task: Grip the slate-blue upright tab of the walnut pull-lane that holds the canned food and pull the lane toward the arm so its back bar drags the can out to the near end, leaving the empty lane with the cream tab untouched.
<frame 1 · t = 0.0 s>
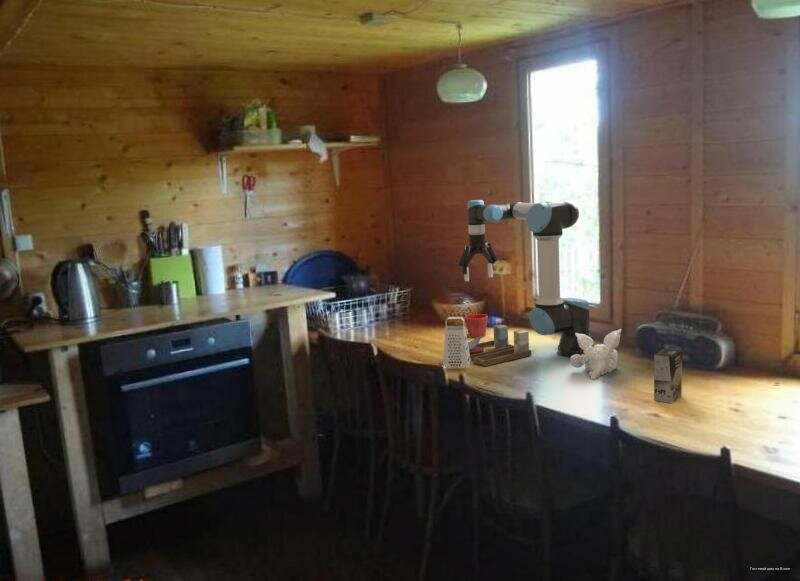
hand: (478, 279, 338), 28 cm above the counter, tool pointing down, fingers open, 13 cm apart
lane B: (502, 347, 303), point 5 cm above the counter, slide at 0.0 cm
coffee box: (667, 398, 244), on the counter
flower pot: (477, 336, 346), on the counter
lane A: (482, 341, 315), point 5 cm above the counter, slide at 0.0 cm, touching grater
white sculpted figure: (596, 372, 278), on the counter
grater: (457, 365, 300), on the counter, touching lane A
canned food: (472, 355, 313), on the counter
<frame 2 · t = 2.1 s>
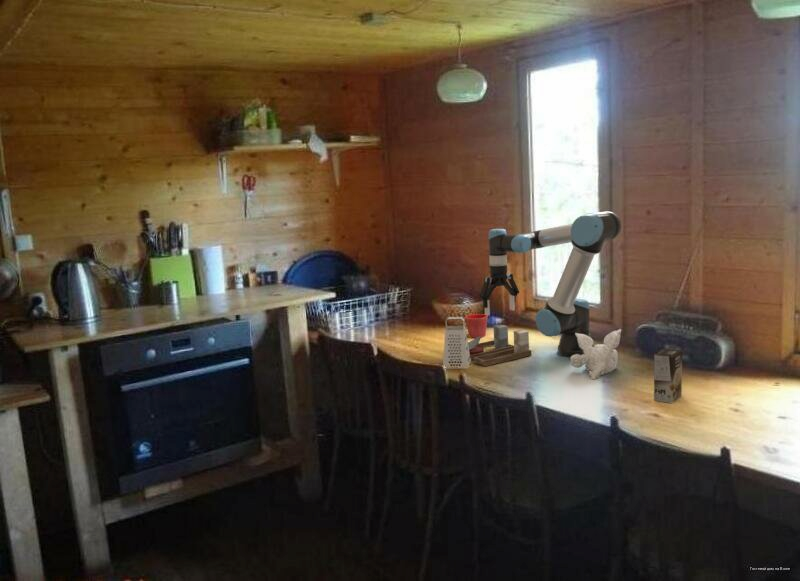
hand: (499, 312, 318), 16 cm above the counter, tool pointing down, fingers open, 13 cm apart
nothing on the counter moved.
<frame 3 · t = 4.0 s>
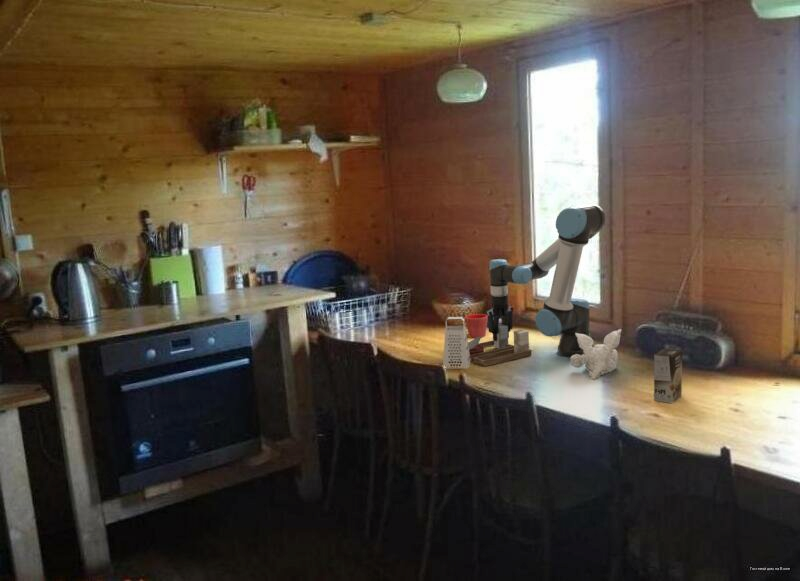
hand: (501, 346, 320), 1 cm above the counter, tool pointing down, fingers closed on lane A, 4 cm apart
lane A: (482, 341, 315), point 5 cm above the counter, slide at 0.0 cm, touching grater, gripper
everything else where it was.
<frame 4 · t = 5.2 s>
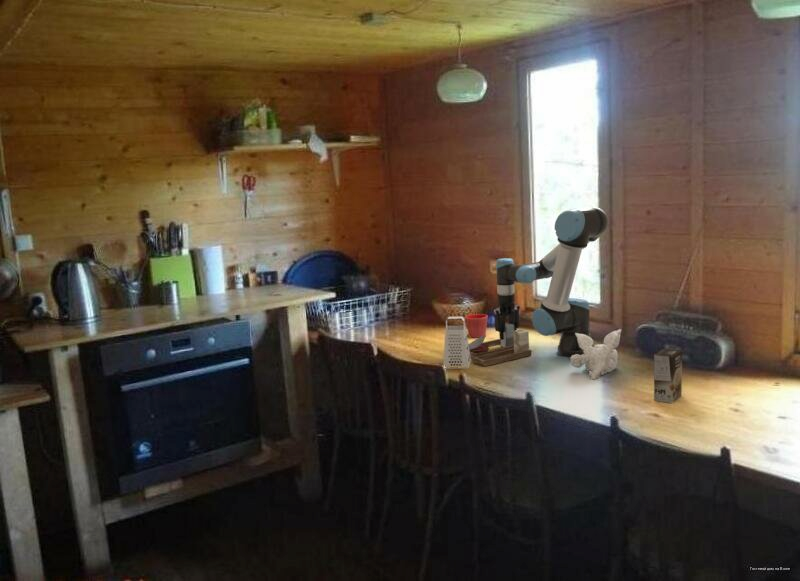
hand: (507, 345, 322), 1 cm above the counter, tool pointing down, fingers closed on lane A, 4 cm apart
lane A: (488, 339, 316), point 5 cm above the counter, slide at 3.5 cm, touching canned food, gripper
grater: (457, 365, 300), on the counter
canned food: (477, 354, 314), on the counter, touching lane A
everything else where it was.
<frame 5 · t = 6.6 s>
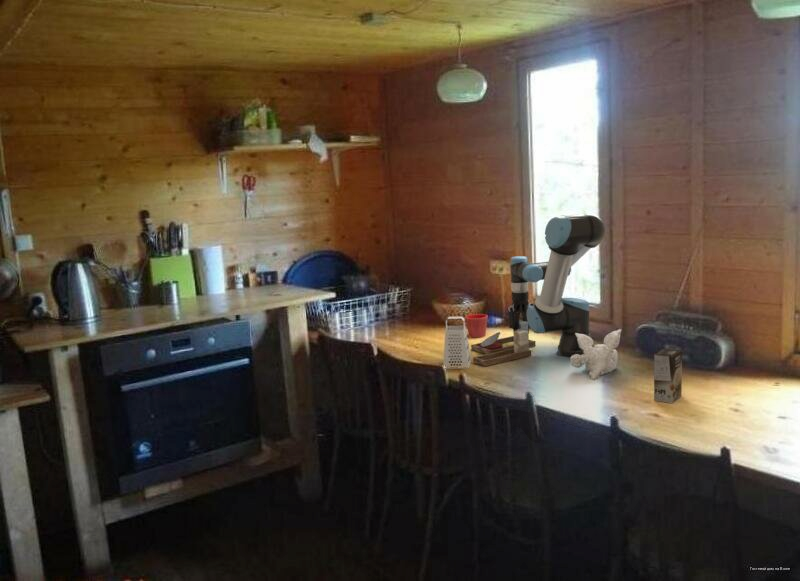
hand: (521, 342, 326), 1 cm above the counter, tool pointing down, fingers closed on lane A, 4 cm apart
lane A: (502, 336, 320), point 5 cm above the counter, slide at 11.4 cm, touching gripper
canned food: (491, 351, 318), on the counter
everything else where it was.
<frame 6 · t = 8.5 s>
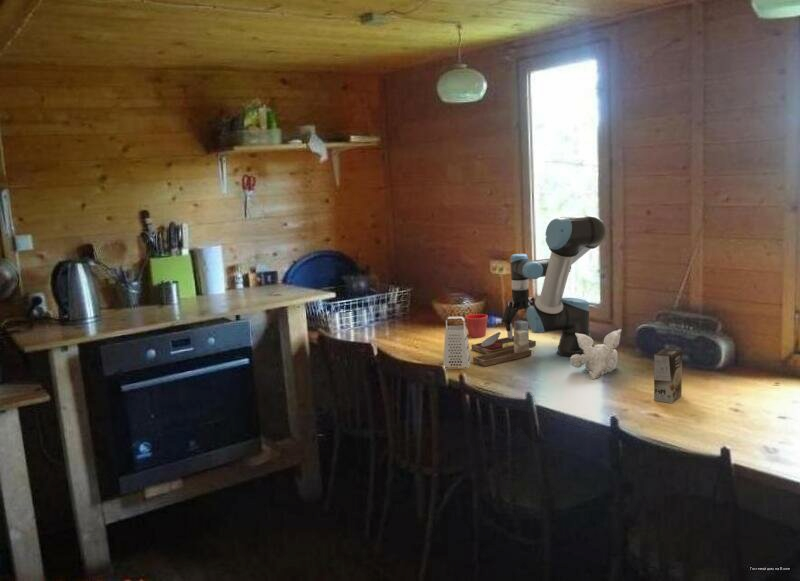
hand: (522, 335, 325), 4 cm above the counter, tool pointing down, fingers open, 13 cm apart
lane A: (503, 336, 320), point 5 cm above the counter, slide at 11.5 cm
everything else where it was.
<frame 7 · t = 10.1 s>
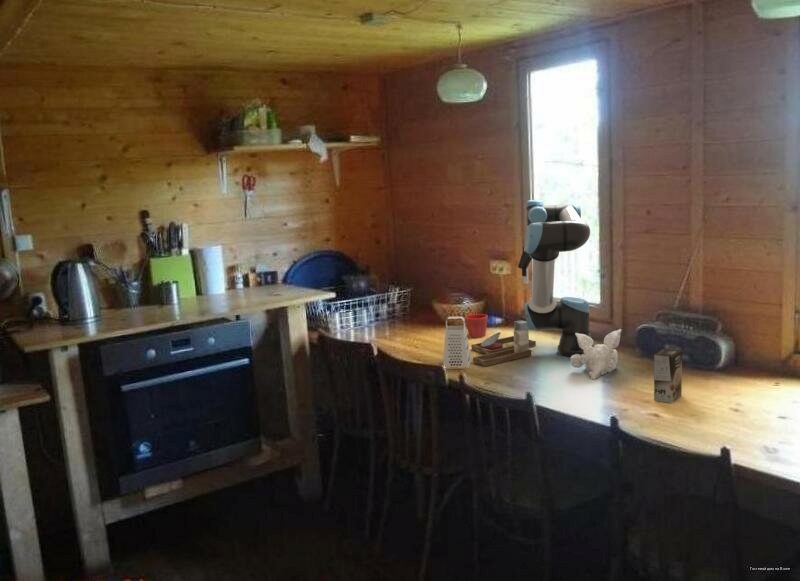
hand: (537, 281, 329), 27 cm above the counter, tool pointing down, fingers open, 13 cm apart
nothing on the counter moved.
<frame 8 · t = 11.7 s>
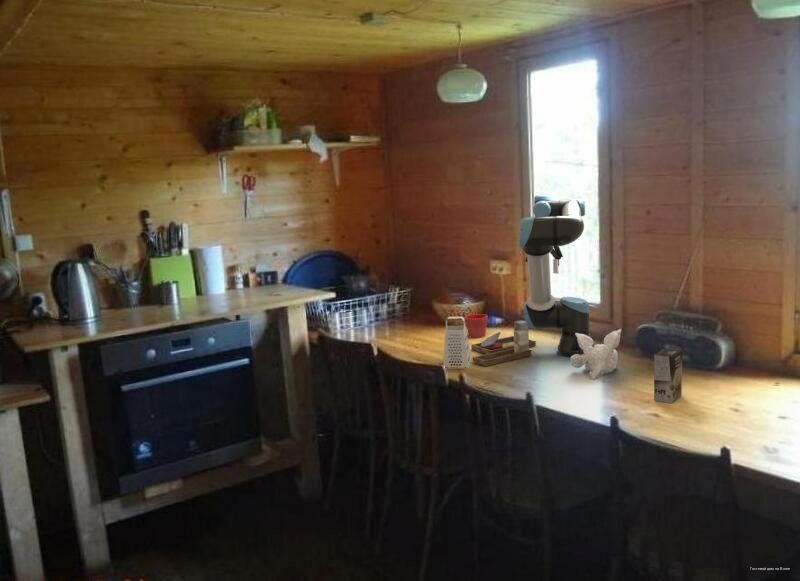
hand: (544, 275, 333), 29 cm above the counter, tool pointing down, fingers open, 13 cm apart
nothing on the counter moved.
at the end: lane A slide at 11.5 cm; canned food inside the target area (1.5 cm from its centre), on the counter; lane B slide at 0.0 cm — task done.
